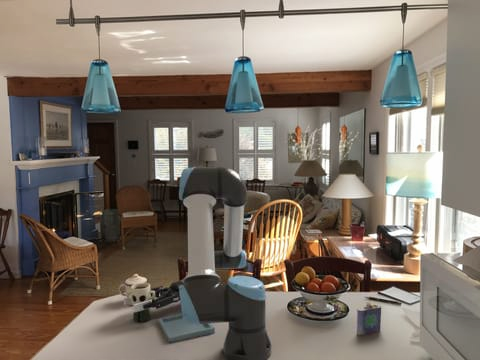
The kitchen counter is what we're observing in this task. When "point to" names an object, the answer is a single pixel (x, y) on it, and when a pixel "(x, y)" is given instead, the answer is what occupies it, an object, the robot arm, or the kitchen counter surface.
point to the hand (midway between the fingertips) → (129, 304)
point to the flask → (368, 319)
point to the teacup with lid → (130, 282)
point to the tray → (183, 328)
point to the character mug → (140, 299)
